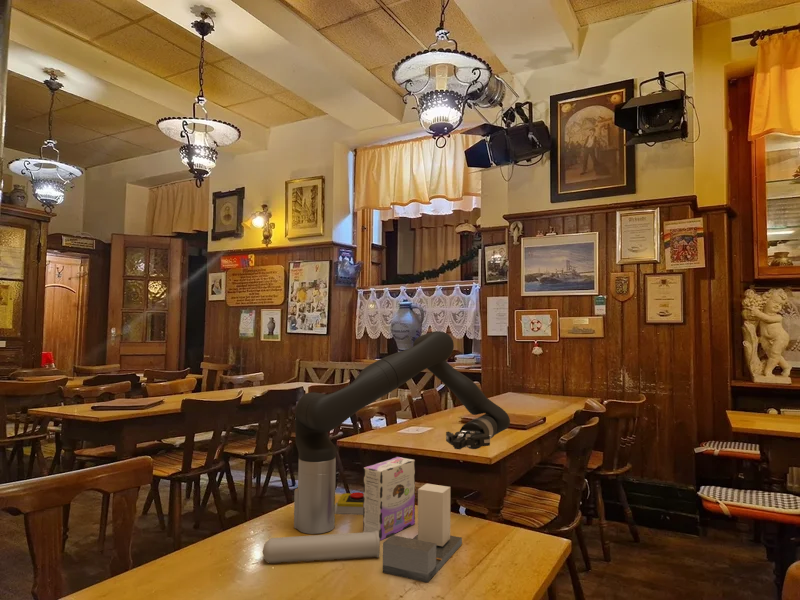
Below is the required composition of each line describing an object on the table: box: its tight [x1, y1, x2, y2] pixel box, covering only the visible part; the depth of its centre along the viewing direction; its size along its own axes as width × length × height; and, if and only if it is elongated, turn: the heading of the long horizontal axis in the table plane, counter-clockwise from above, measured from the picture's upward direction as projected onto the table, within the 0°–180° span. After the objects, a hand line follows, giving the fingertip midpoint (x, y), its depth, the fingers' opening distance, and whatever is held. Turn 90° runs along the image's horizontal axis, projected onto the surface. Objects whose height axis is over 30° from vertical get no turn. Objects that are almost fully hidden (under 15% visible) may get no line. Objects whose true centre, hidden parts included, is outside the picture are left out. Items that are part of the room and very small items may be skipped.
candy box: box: [362, 456, 416, 542], centre depth 135 cm, size 14×6×16 cm, turn 142°
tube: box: [262, 530, 381, 564], centre depth 118 cm, size 5×5×25 cm
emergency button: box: [335, 491, 364, 516], centre depth 150 cm, size 9×4×15 cm
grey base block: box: [382, 533, 463, 583], centre depth 119 cm, size 10×21×6 cm, turn 155°
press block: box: [417, 483, 451, 547], centre depth 124 cm, size 6×5×12 cm
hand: (457, 445), depth 139 cm, fingers closed
